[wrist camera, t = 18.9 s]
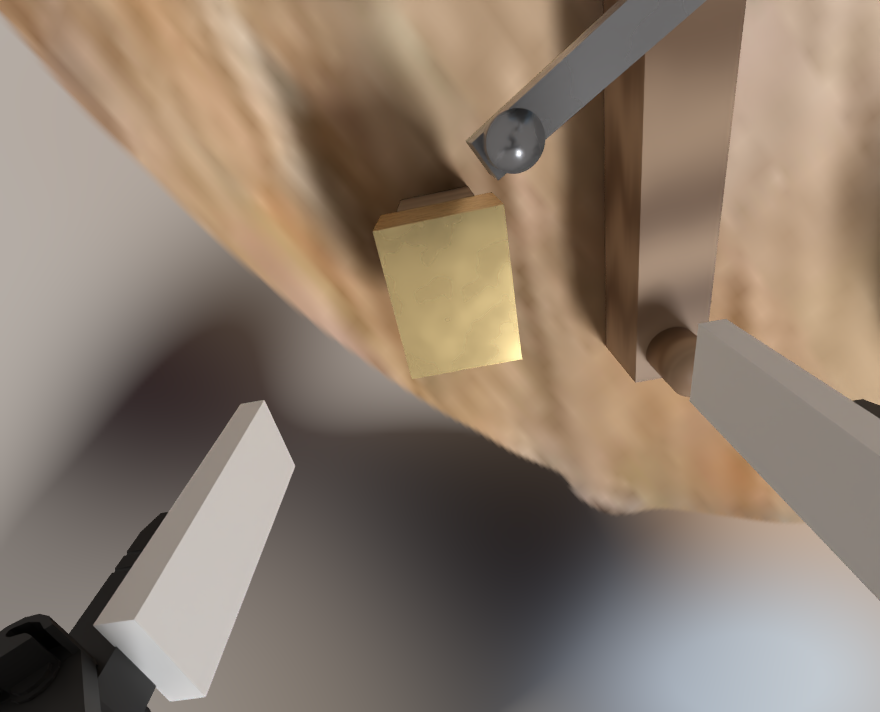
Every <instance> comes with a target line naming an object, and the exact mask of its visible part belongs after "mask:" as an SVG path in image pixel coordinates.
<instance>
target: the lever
mask: <svg viewBox="0 0 880 712" xmlns="http://www.w3.org/2000/svg"><path fill="white" fill-rule="evenodd" d="M705 1H706V0H618V1H617V2H616V3H615V4H614V5H613V6H612V7H611V8H609V9H608V10H607V11H606V12H605V13H604V14H603V15H602V16H601V17H600V18H599V19H597V20H596V21H595V22H594V23H593V24H592V25H591V26H590V27H589V28H588V29H587V30H586V31H584V32H583V33H582V34H581V35H580V36H579V37H578V38H577V39H576V40H575V41H574V42H573V43H571V44H570V45H569V46H568V47H567V48H566V49H565V50H564V51H563V52H562V53H561V54H560V55H558V56H557V57H556V58H555V59H554V60H553V61H552V62H551V63H550V64H549V65H548V66H546V67H545V68H544V69H543V70H542V71H541V72H540V73H539V74H538V75H537V76H536V77H535V78H533V79H532V80H531V81H530V82H529V83H528V84H527V85H526V86H525V87H524V88H523V89H522V90H520V91H519V92H518V93H517V94H516V95H515V96H514V97H513V98H512V99H511V100H510V101H509V102H507V103H506V104H505V105H504V106H503V107H502V108H501V109H500V110H499V111H498V112H497V113H496V114H494V115H493V116H492V117H491V118H490V119H489V120H488V121H487V122H486V123H485V124H484V125H482V126H481V127H480V128H479V129H478V130H477V131H476V132H475V133H474V134H473V135H472V136H471V137H469V138H468V139H467V140H466V142H467V144H468V145H469V147H470V148H471V149H472V151H473V152H474V153H475V155H476V156H477V158H478V159H479V160H480V162H481V163H482V165H483V166H484V167H485V169H486V170H487V171H488V173H489V174H490V175H492V176H493V177H494V178H496V179H497V180H499V179H500V178H502V177H503V176H504V175H505V174H506V173H511V174H516V173H521V172H524V171H526V170H528V169H529V168H531V167H532V166H533V165H534V164H535V163H536V162H537V161H538V159H539V158H540V156H541V154H542V152H543V149H544V145H545V140H546V139H547V138H548V137H549V136H550V135H551V134H552V133H554V132H555V131H556V130H557V129H558V128H559V127H561V126H562V125H563V124H564V123H565V122H566V121H568V120H569V119H570V118H571V117H572V116H573V115H574V114H576V113H577V112H578V111H579V110H580V109H581V108H583V107H584V106H585V105H586V104H587V103H588V102H589V101H591V100H592V99H593V98H594V97H595V96H596V95H598V94H599V93H600V92H601V91H602V90H603V89H605V88H606V87H607V86H608V85H609V84H610V83H611V82H613V81H614V80H615V79H616V78H617V77H618V76H620V75H621V74H622V73H623V72H624V71H625V70H627V69H628V68H629V67H630V66H631V65H632V64H633V63H635V62H636V61H637V60H638V59H639V58H640V57H642V56H643V55H644V54H645V53H646V52H647V51H649V50H650V49H651V48H652V47H653V46H654V45H655V44H657V43H658V42H659V41H660V40H661V39H662V38H664V37H665V36H666V35H667V34H668V33H669V32H671V31H672V30H673V29H674V28H675V27H676V26H677V25H679V24H680V23H681V22H682V21H683V20H684V19H686V18H687V17H688V16H689V15H690V14H691V13H693V12H694V11H695V10H696V9H697V8H698V7H699V6H701V5H702V4H703V3H704V2H705Z"/></svg>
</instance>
